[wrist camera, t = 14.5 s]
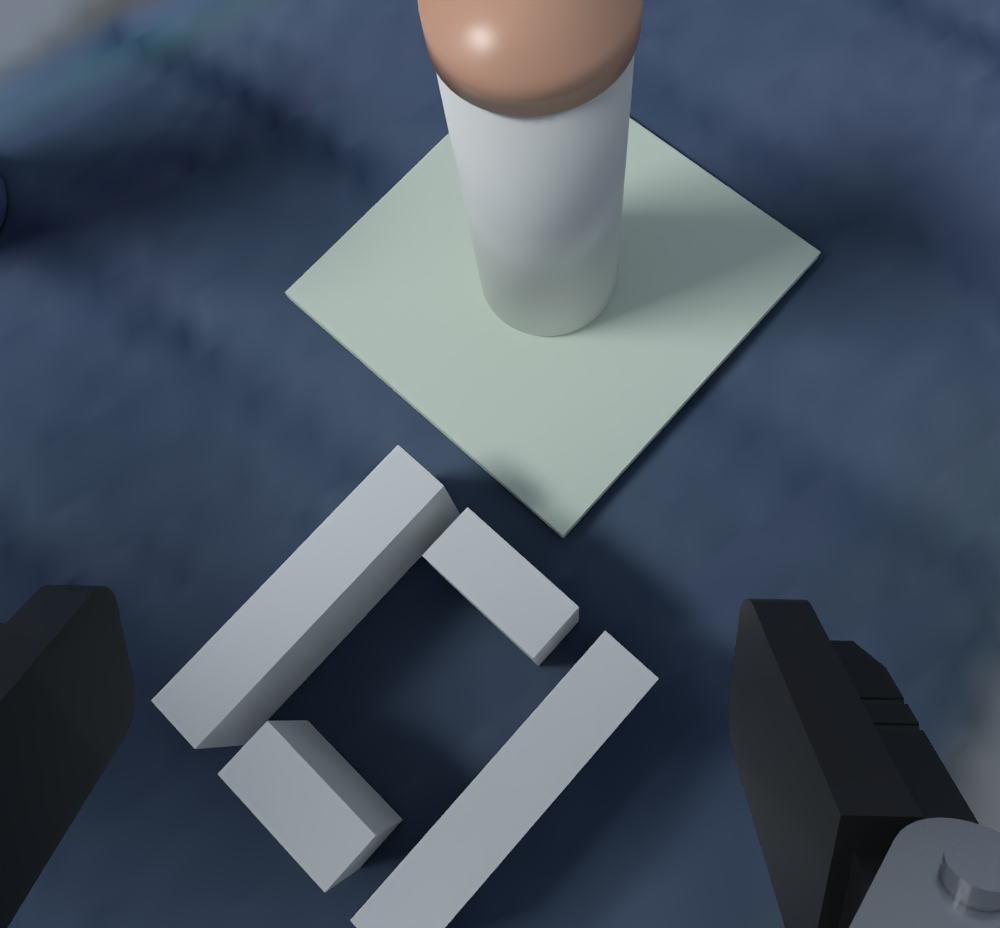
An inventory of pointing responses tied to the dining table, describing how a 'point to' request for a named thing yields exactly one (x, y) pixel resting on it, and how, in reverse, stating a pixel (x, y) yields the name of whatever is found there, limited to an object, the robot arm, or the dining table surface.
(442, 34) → the mushroom
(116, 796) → the dining table surface
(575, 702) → the frame
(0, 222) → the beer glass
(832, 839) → the robot arm
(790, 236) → the pad
